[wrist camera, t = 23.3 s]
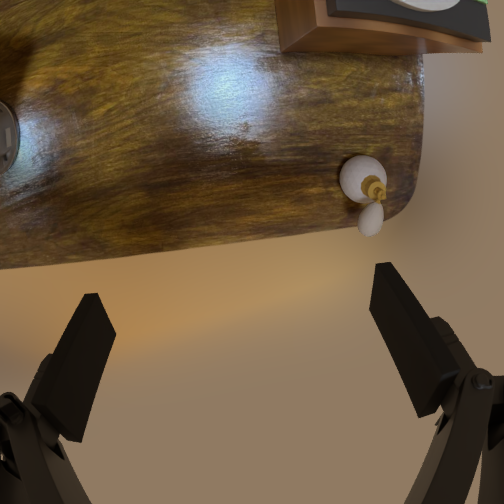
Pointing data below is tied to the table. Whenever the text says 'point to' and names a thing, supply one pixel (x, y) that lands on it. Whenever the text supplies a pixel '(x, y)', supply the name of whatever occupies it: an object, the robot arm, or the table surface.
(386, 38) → the stand
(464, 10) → the scale
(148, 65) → the table surface
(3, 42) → the table surface
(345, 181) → the perfume bottle
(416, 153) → the table surface
